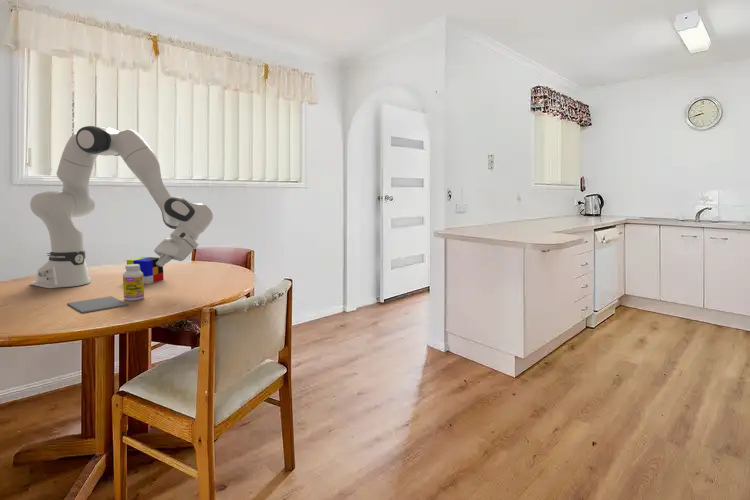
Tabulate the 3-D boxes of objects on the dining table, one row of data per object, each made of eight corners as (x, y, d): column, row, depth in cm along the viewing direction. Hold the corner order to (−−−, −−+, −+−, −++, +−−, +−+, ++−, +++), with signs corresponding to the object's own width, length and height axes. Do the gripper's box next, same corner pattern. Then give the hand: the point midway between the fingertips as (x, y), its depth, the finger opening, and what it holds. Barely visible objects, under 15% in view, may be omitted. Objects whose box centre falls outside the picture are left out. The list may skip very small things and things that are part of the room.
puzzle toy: (148, 284, 187) (146, 261, 186) (127, 282, 189) (126, 260, 188) (163, 279, 197) (162, 257, 195) (144, 278, 199) (143, 256, 197)
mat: (111, 297, 163) (111, 296, 163) (128, 305, 153) (128, 304, 153) (67, 304, 153) (67, 303, 153) (82, 313, 142) (82, 311, 142)
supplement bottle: (123, 301, 157) (121, 267, 156) (124, 297, 163) (122, 264, 161) (144, 300, 161) (142, 266, 159) (144, 296, 166) (142, 263, 165)
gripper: (164, 231, 178) (141, 257, 172) (189, 235, 165) (164, 263, 159) (176, 241, 182) (153, 267, 176) (200, 245, 169) (176, 273, 163)
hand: (158, 265), depth 167 cm, fingers closed
